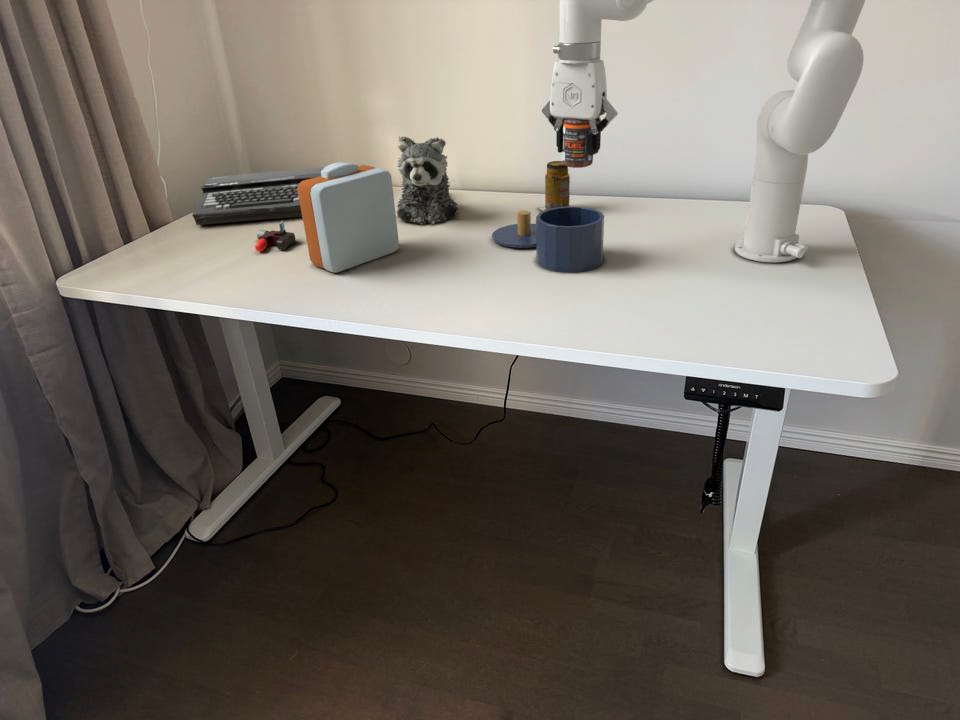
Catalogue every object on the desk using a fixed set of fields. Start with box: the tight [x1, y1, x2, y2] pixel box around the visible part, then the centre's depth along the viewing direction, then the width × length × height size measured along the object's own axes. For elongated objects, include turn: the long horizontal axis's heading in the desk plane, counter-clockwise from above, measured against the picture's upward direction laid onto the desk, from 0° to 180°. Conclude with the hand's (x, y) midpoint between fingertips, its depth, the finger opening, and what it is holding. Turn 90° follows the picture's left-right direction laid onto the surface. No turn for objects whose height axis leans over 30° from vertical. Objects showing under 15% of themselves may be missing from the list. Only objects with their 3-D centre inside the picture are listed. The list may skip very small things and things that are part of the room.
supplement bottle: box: [562, 118, 594, 169], centre depth 135 cm, size 6×6×11 cm
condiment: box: [539, 160, 571, 212], centre depth 173 cm, size 7×8×12 cm
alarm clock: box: [297, 161, 400, 274], centre depth 149 cm, size 18×9×21 cm, turn 134°
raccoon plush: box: [396, 136, 459, 226], centre depth 176 cm, size 15×32×21 cm, turn 14°
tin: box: [535, 205, 605, 273], centre depth 144 cm, size 14×14×10 cm
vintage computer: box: [191, 164, 359, 226], centre depth 190 cm, size 43×29×8 cm
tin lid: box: [491, 210, 536, 249], centre depth 158 cm, size 15×15×6 cm
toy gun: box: [254, 220, 297, 253], centre depth 163 cm, size 10×12×5 cm
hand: (578, 151), depth 136 cm, fingers closed on supplement bottle, 6 cm apart
